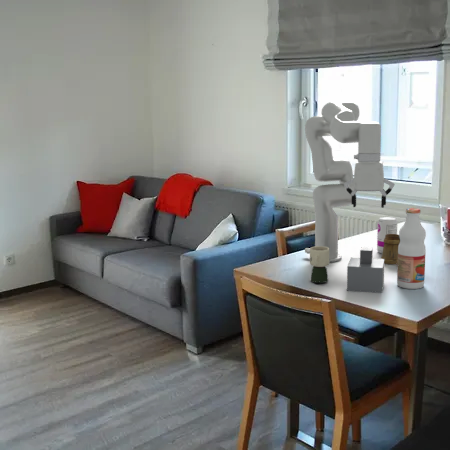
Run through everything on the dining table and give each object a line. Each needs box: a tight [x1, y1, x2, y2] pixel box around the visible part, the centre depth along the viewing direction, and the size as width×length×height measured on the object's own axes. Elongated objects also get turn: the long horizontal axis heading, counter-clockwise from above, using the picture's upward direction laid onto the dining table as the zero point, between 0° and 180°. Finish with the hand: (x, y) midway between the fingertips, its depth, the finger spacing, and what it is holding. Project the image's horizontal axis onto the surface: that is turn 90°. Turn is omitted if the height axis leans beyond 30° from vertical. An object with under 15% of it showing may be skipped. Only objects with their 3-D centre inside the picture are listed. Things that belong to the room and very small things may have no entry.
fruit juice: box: [396, 207, 427, 290], centre depth 215 cm, size 9×9×28 cm
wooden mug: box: [380, 233, 400, 265], centre depth 246 cm, size 9×14×18 cm, turn 60°
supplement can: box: [376, 216, 398, 254], centre depth 263 cm, size 8×8×15 cm
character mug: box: [309, 245, 330, 284], centre depth 224 cm, size 11×7×13 cm, turn 156°
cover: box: [346, 247, 385, 294], centre depth 217 cm, size 12×12×14 cm
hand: (368, 206), depth 213 cm, fingers open, 9 cm apart
